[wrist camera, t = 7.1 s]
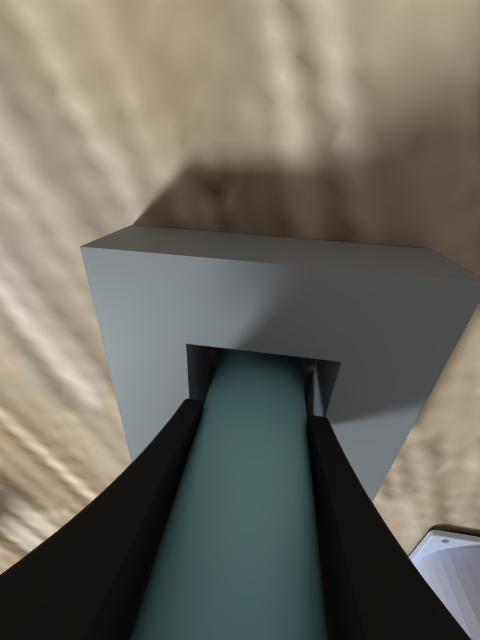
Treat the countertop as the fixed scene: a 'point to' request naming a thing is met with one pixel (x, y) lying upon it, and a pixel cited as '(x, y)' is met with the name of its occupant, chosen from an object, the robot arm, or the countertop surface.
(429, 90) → the countertop surface
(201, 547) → the peg
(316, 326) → the socket
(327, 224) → the countertop surface
